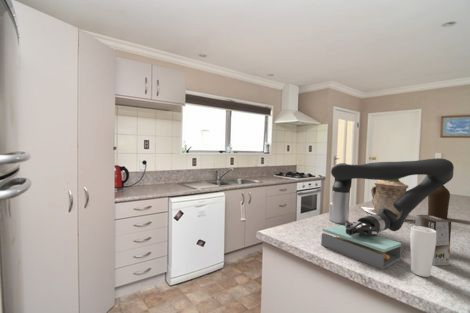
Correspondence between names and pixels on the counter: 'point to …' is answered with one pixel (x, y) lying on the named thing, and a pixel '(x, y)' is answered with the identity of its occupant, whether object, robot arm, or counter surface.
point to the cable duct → (362, 252)
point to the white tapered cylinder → (422, 250)
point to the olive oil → (439, 203)
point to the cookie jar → (387, 196)
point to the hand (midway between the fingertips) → (348, 231)
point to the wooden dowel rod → (367, 248)
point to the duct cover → (364, 239)
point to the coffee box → (438, 236)
